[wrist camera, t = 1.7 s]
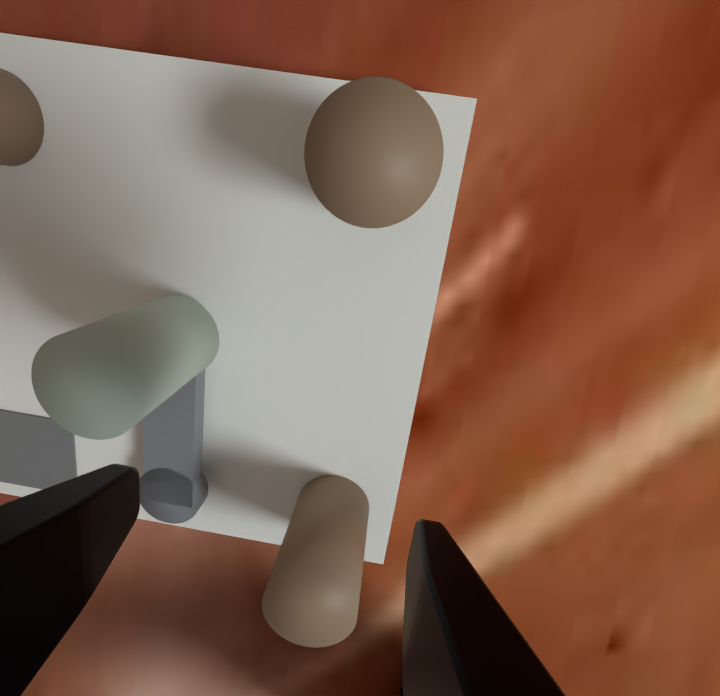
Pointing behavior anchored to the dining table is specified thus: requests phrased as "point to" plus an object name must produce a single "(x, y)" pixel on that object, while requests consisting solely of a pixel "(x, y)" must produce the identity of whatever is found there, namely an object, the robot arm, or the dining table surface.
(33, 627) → the robot arm
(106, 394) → the hinged leg
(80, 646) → the dining table surface
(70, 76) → the stool seat
